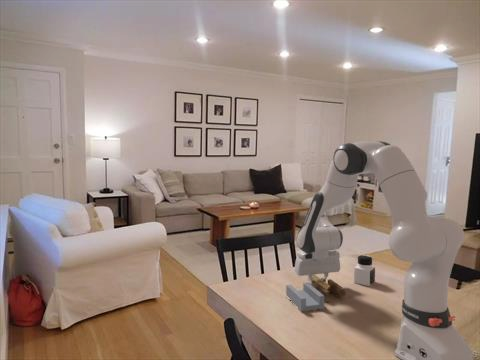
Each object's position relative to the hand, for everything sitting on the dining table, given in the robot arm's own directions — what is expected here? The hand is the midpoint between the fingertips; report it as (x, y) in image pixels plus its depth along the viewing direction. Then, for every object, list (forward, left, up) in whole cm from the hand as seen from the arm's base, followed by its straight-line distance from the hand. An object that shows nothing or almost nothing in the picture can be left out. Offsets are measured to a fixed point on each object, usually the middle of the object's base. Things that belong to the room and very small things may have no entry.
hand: (317, 283), depth 152 cm
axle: (-2, 0, 0) cm, 2 cm away
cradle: (-13, +13, -2) cm, 18 cm away
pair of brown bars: (-9, 0, -2) cm, 9 cm away
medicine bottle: (-1, -22, -2) cm, 23 cm away
